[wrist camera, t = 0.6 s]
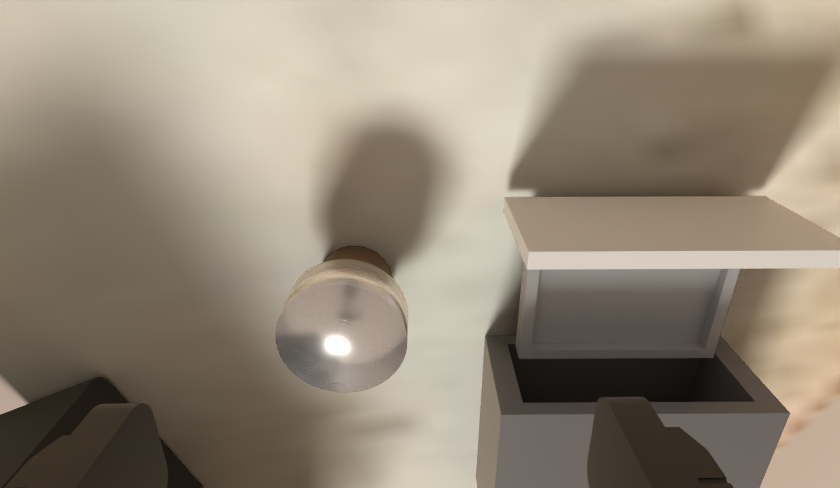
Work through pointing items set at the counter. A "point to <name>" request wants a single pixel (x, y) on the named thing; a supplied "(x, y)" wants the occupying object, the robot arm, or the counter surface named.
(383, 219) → the counter surface
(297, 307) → the disc
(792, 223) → the drawer
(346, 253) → the brown rounded cylinder
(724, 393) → the cylinder
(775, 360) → the counter surface
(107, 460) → the robot arm
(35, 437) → the speaker
